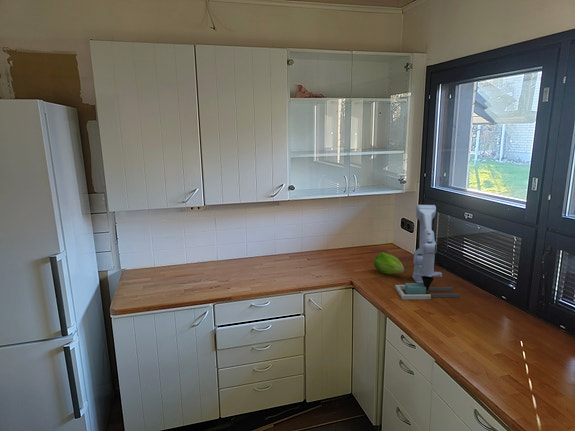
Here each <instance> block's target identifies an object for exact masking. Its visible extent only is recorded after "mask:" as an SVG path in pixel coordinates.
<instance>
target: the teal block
mask: <svg viewBox="0 0 575 431" xmlns="http://www.w3.org/2000/svg"><path fill="white" fill-rule="evenodd" d="M404 285H405V289H404V292H405V293H404V294H405V295H414V294H427V293H426V292H427V291H426V287H425V286H424V283H417V282H412V283H411V282H405V284H404Z"/></svg>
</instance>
